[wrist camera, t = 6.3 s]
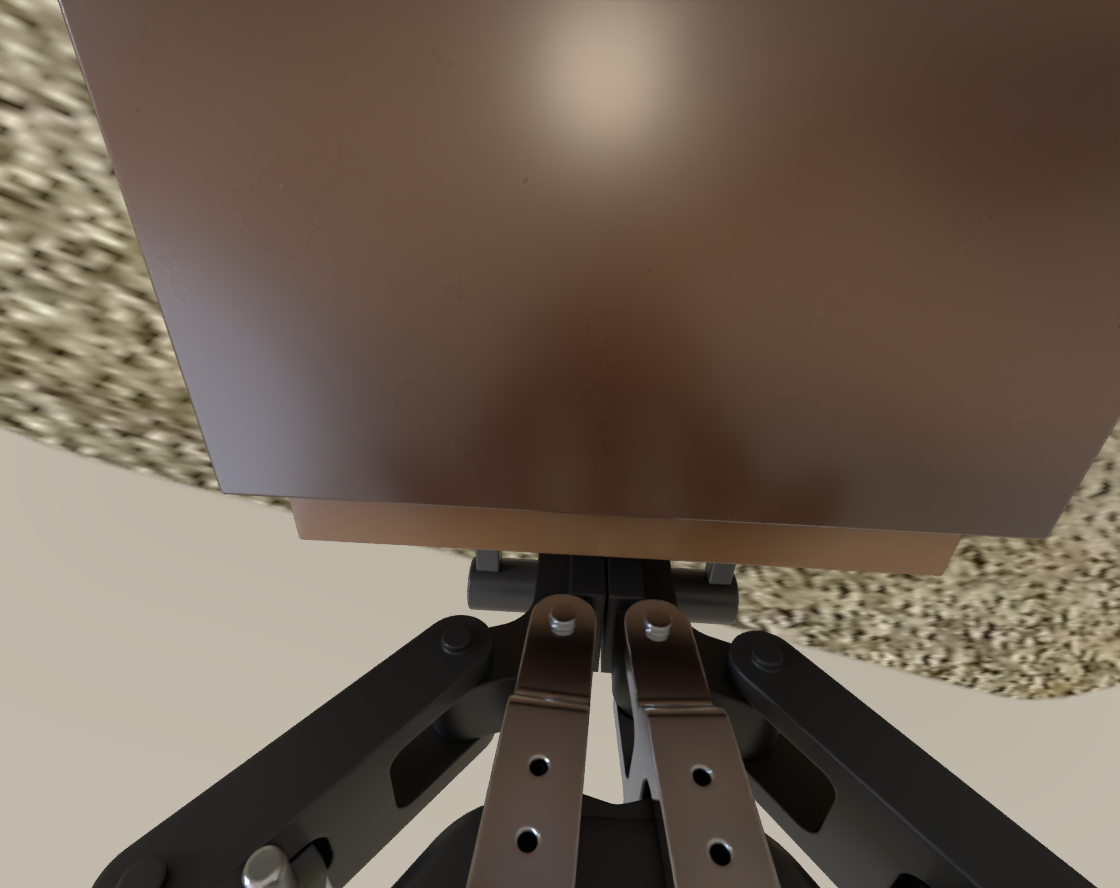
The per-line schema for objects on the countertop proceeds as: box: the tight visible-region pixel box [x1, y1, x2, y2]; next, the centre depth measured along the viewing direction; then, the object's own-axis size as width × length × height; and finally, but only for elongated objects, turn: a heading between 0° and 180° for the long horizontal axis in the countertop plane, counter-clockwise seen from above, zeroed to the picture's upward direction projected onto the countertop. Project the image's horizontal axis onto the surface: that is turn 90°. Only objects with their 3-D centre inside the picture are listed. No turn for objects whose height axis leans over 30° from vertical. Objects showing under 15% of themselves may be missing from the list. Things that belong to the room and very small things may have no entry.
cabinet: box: [58, 0, 1120, 539], centre depth 10 cm, size 15×14×10 cm
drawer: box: [289, 498, 962, 625], centre depth 12 cm, size 18×12×8 cm
